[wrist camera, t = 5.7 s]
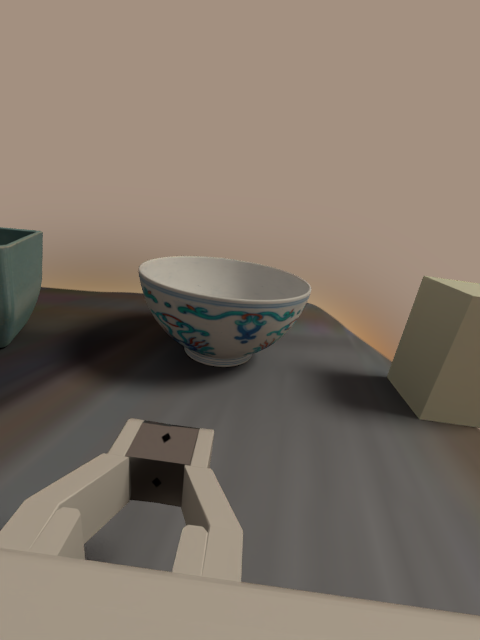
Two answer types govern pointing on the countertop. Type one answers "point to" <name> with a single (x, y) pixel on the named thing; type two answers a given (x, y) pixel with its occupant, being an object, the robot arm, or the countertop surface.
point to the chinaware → (222, 305)
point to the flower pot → (18, 279)
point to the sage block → (441, 353)
